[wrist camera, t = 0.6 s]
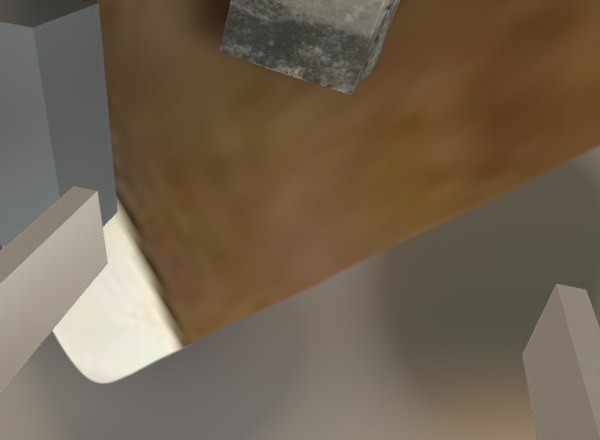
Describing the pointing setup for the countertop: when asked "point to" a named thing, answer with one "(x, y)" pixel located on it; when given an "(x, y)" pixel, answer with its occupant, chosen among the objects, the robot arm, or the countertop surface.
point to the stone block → (310, 37)
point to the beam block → (51, 110)
